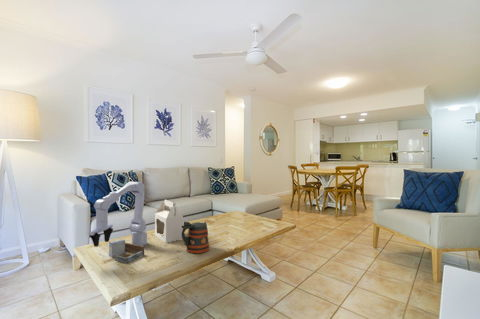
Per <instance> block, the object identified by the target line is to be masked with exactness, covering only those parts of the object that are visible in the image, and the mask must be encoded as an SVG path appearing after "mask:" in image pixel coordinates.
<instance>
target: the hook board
mask: <svg viewBox="0 0 480 319" xmlns="http://www.w3.org/2000/svg"><path fill="white" fill-rule="evenodd" d="M125 253H130V254H132V255H130V256H127V257H125V256H122V255H116V256H115V257H114V261H115V262H119V263H124V264H128V263H131V262H132V261H134V260H137V259H139V258H141V257H142V256H145V245H143V246H140V245H135V244H132V243H130V242H126V241H125Z"/></svg>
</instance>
